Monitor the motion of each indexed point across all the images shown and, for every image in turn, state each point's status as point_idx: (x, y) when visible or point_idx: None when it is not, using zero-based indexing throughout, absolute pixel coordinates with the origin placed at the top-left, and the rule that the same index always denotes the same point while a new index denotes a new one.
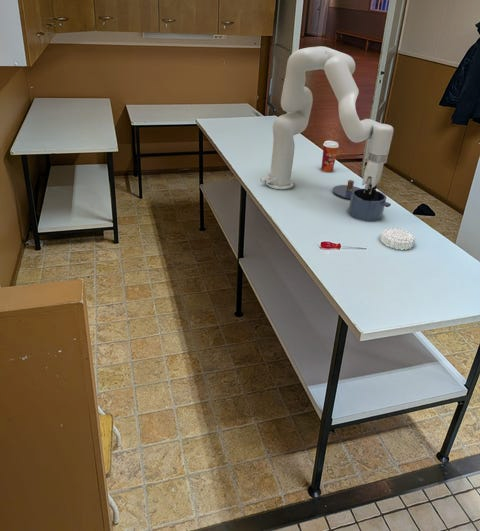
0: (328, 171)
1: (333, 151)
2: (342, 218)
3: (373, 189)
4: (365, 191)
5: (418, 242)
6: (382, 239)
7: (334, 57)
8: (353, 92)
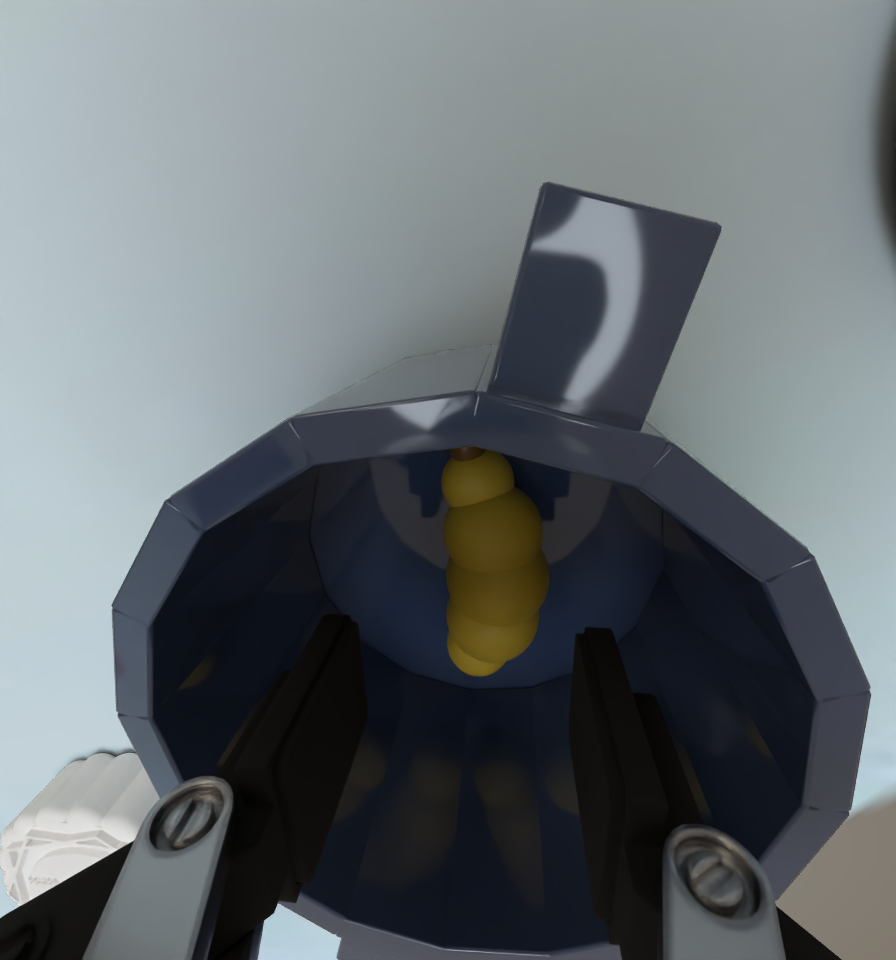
0: None
1: None
2: (180, 372)
3: (617, 907)
4: (59, 900)
5: (274, 922)
6: (46, 787)
7: None
8: None
